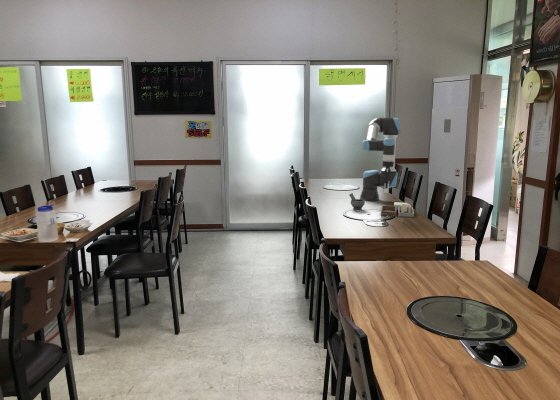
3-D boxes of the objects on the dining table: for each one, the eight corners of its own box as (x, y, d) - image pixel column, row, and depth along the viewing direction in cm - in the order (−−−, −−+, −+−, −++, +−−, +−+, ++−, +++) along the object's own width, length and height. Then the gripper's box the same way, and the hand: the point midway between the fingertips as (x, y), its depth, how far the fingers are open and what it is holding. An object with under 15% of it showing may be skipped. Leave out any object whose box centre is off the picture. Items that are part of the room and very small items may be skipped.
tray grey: (398, 209, 324) (398, 206, 324) (412, 210, 322) (412, 207, 321) (398, 215, 305) (398, 212, 305) (413, 216, 303) (414, 213, 302)
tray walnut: (381, 209, 327) (381, 205, 326) (395, 209, 324) (396, 206, 324) (380, 214, 308) (381, 211, 307) (396, 215, 305) (396, 212, 305)
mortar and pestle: (363, 208, 328) (364, 192, 326) (365, 211, 319) (365, 194, 316) (348, 208, 329) (348, 191, 326) (349, 210, 320) (349, 194, 317)
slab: (393, 206, 335) (394, 202, 335) (407, 207, 333) (408, 202, 332) (393, 209, 326) (394, 204, 325) (408, 210, 323) (408, 205, 323)
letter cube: (401, 212, 317) (401, 203, 316) (410, 212, 316) (410, 204, 314) (401, 214, 311) (401, 205, 310) (410, 214, 310) (410, 206, 309)
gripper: (383, 159, 323) (381, 188, 326) (381, 162, 299) (380, 193, 303) (394, 159, 321) (392, 189, 324) (393, 162, 297) (391, 194, 301)
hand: (386, 191), depth 313 cm, fingers open, 13 cm apart
